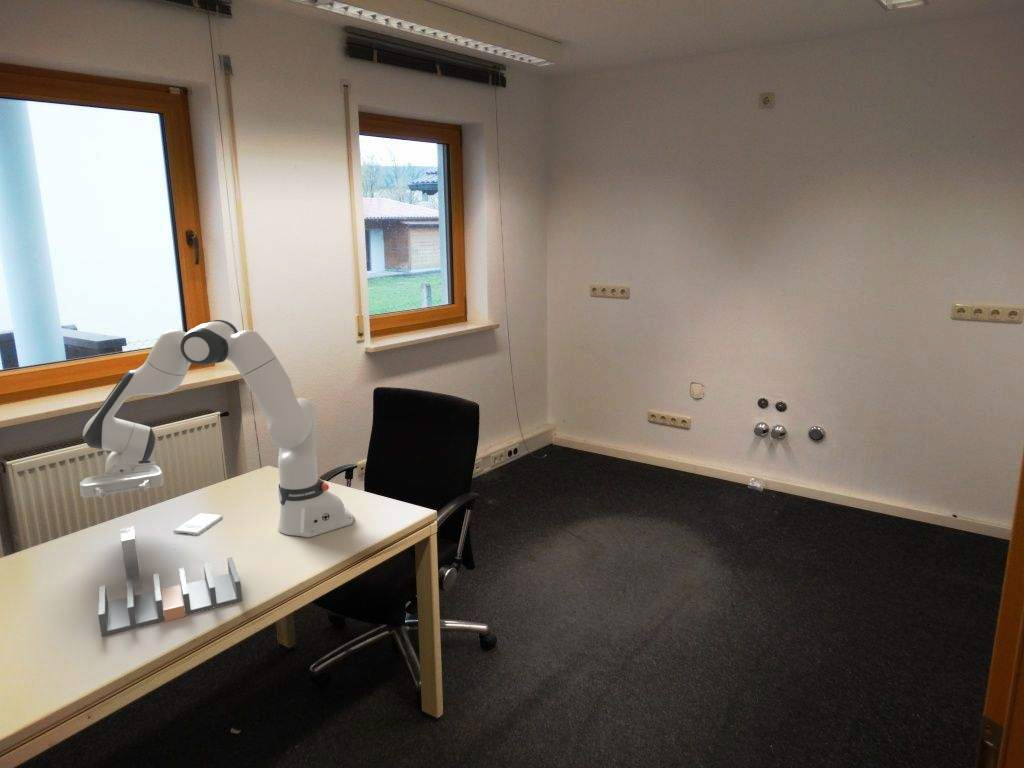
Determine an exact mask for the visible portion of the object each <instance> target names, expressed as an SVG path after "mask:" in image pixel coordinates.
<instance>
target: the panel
mask: <svg viewBox="0 0 1024 768" xmlns="http://www.w3.org/2000/svg"><path fill="white" fill-rule="evenodd" d="M136 537H137V536H136V532H135V526H128V527H123V528H120V543H121V550H122V555H123V562H124V571H125V576H126V577H125V578H126V581H127V580H131V579H132V581H133V587H134V591H135V589H136V590H140V589H142V586H143V585H142V573H141V567H140V561H139V553H138V546H137V538H136Z"/></svg>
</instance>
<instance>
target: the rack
mask: <svg viewBox="0 0 1024 768" xmlns="http://www.w3.org/2000/svg"><path fill="white" fill-rule="evenodd" d="M226 561H227V568H228V569H227V570H228V573H226V574H221V575H216V576H213V575H212V571H211V568H210V563H209V562H203V563H202V565H203V572H204V574H203V575H204V579H200V580H196V581H191V582H187V578H186V573H185V567H182V568H178V573H179V574H178V575H179V581H180V583H179V584H177V585H172V586H168V587H164V588H161V581H160V573H154V574H152V576H153V586H154V590H153V591H148V592H144V593H139V594H135V590H134V587H133V581H132V579H131V580H127V579H126V595H127V596H126V597H122V598H117V599H114V600H110V601H109V600H108V594H107V593H108V592H107V587H106V585H100V586H99V593H98V594H99V595H98V612H97V613H98V621H99V628H100V634H101V637H104V636H109V635H112V634H117V633H120V632H124V630H125V631H129V630H133V629H137V628H140V626H141V627H144V625H145V626H148V625H152V624H157V623H160V622H170V621H174V620H177V618H178V619H181V617H182V618H185V617H184V616H187V615H186V614H189V615H191V614H190V613H192V614H195V613H194V612H196V613H200V612H203V611H202V610H204V611H207V610H206V609H208V610H211V609H210V608H212V609H214V608H213V607H216V608H218V607H217V606H220V607H222V606H221V605H224V606H227V605H226V604H228V605H231V603H232V604H235V602H236V603H239V602H238V601H240V602H243V594H242V586H241V579H240V577H239V573H238V571H237V567H236V565H235V561H234V559H233V556H231V557H230V556H229V557H227V559H226ZM199 611H200V612H199ZM173 619H174V620H173ZM136 627H137V628H136ZM128 629H129V630H128ZM116 632H117V633H116Z"/></svg>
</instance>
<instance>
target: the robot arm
mask: <svg viewBox="0 0 1024 768" xmlns="http://www.w3.org/2000/svg"><path fill="white" fill-rule="evenodd" d="M226 360H227V361H230V362H231V363H232V364H233V365H234V366H235V368H236V369H237V371H238V372H239V373H240V375H241V377H242V378H243V381H244V382H245V383H246V385H247V387H248V388H249V390H250V391H251V393H252V394H253V396H254V398H255V399H256V400H255V401H256V402H257V404H258V406H259V409H260V412H261V414H262V416H263V419H264V421H265V423H266V425H267V429H268V435H269V438H270V441H271V442H272V443H273V444H274V445H275V446H277V447H279V450H278V459H277V465H278V477H279V479H278V480H279V484H278V499H279V503H280V513H279V521H278V524H277V525H278V526H277V530H278V532H280V533H282V534H284V535H287V536H297V537H302V538H312V537H316V536H318V535H322V534H325V533H328V532H331V531H335V530H337V529H340V528H344V527H348V526H350V525H352V524H353V523H354V515H353V514H352V512H351V511H350V510H349V509H348V508H347V507H345V505H344V503H343V500H342V499H341V498H340V497H339V496H338V495H336V494H334V493H332V492H330V491H328V490H330V486H329V484H328V483H327V482H325V481H324V480H322V479H321V478H320V477H318V467H317V446H318V441H317V440H318V410H317V407H316V405H315V404H314V402H313V401H311V399H308V398H304V397H298V398H297V396H296V393H295V391H294V388H293V385H292V380H291V378H290V376H289V375H288V373H287V371H286V370H285V369H284V367H283V365H282V363H281V361H280V360H279V359H278V357H277V355H276V354H275V352H274V351H273V349H272V348H271V347H270V345H269V344H268V343H267V342H266V341H265V339H264V338H263V337H262V335H260V334H259V333H258V332H257V331H255V330H252V329H244V330H241V331H238V329H237V327H236V326H235V325H234V323H231V322H229V321H227V320H224V319H214V320H211V321H209V322H205V323H200V324H199V325H197V326H195V327H193V328H191V329H190V330H188V331H187V332H186V331H184V330H181V329H178V328H177V329H175V328H172V329H167V330H165V331H164V332H162V333H161V335H160V336H159V337H158V338H157V340H156V342H155V343H154V345H153V346H152V348H151V350H150V352H149V354H148V356H147V358H146V360H145V361H144V363H143V364H142V365H141V366H139V367H138V368H136V369H131V370H128V371H127V372H126V373H125V374H124V375H122V377H121V378H120V380H119V381H118V382H117V383H116V385H115V386H114V387H113V389H112V390H111V392H110V393H109V394H108V396H107V397H106V398H105V400H104V401H103V403H102V404H101V405H100V407H99V408H98V410H97V411H96V412H95V413H94V415H92V417H91V418H90V419H89V420H88V421H87V422H86V424H85V426H84V428H83V431H82V439H83V441H84V442H85V444H86V445H87V446H88V447H89V448H91V449H92V448H93V449H98V450H104V451H109V452H110V453H109V455H108V456H107V458H106V460H105V464H104V465H105V466H104V469H105V470H104V474H100V475H99V474H98V475H93V476H88V477H85V478H84V479H82V481H80V482H79V492H80V493H79V494H80V497H82V498H84V499H85V498H86V499H87V498H92V497H99V499H105V498H107V495H110V494H117V493H119V494H120V493H123V492H124V493H126V492H131V491H137V490H139V493H142V492H143V493H144V492H147V489H150V488H158V487H162V486H163V485H164V484H165V483H164V482H165V481H164V476H163V475H164V474H163V471H162V469H161V467H160V466H158V465H157V464H156V461H155V460H149V459H150V458H151V455H152V453H153V451H154V448H155V443H156V435H155V432H154V430H153V429H152V427H151V426H148V425H145V424H141V423H137V422H132V421H129V420H125V419H122V418H119V417H118V418H117V417H115V415H116V413H117V412H118V411H119V409H120V408H121V407H122V405H123V404H124V402H126V400H127V399H130V398H131V397H135V396H143V395H147V396H148V395H155V396H156V395H165V394H168V393H171V392H173V391H175V390H177V389H178V388H179V387H180V385H181V384H182V383H183V382H184V380H185V377H186V375H187V373H188V371H189V368H190V367H191V364H193V365H197V366H207V365H213V364H214V365H215V364H219V363H223V362H225V361H226Z"/></svg>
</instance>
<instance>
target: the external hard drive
mask: <svg viewBox="0 0 1024 768" xmlns="http://www.w3.org/2000/svg"><path fill="white" fill-rule="evenodd" d="M220 519H221V520H222V519H223V515H221V514H213V513H202V512H200V513H198V514H197V515H195V516H194V517H192V518H190V519H189V520H188V521H186V522H184V523H183V524H181V525H180V526H178V527H177V528H175V529H174V530H173V533H174V532H177V533H176V534H179V533H188V534H187V535H189V534H196V535H195V536H199V535H200V534H202V533H203V532H205V531H206V530H208V529H209V528H210V526H211V525H212V526H213V525H215V524H216V523H218V522H219V521H221V520H220ZM214 523H215V524H214ZM212 526H211V527H212ZM207 528H208V529H207ZM205 529H206V530H205ZM204 530H205V531H204ZM202 531H203V532H202ZM201 532H202V533H201ZM199 533H200V534H199ZM198 534H199V535H198Z"/></svg>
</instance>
